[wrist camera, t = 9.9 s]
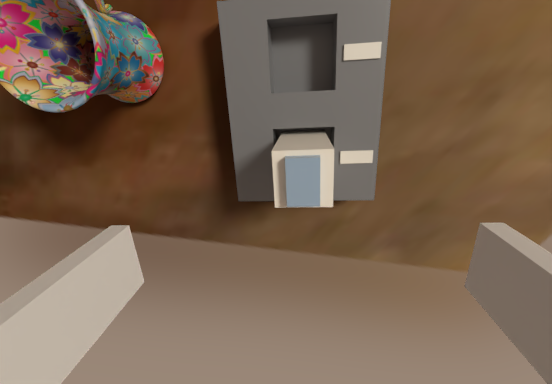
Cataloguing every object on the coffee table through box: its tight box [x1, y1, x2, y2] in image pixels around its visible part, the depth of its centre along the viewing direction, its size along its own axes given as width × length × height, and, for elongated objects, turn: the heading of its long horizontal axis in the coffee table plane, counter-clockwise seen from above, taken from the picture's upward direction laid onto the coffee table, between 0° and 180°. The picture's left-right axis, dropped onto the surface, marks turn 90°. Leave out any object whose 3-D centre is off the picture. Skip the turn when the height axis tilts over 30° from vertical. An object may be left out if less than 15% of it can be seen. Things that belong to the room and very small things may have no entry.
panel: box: [217, 0, 391, 201], centre depth 26 cm, size 14×18×4 cm
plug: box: [272, 130, 334, 208], centre depth 24 cm, size 4×4×11 cm
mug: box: [0, 0, 164, 112], centre depth 23 cm, size 12×9×11 cm
